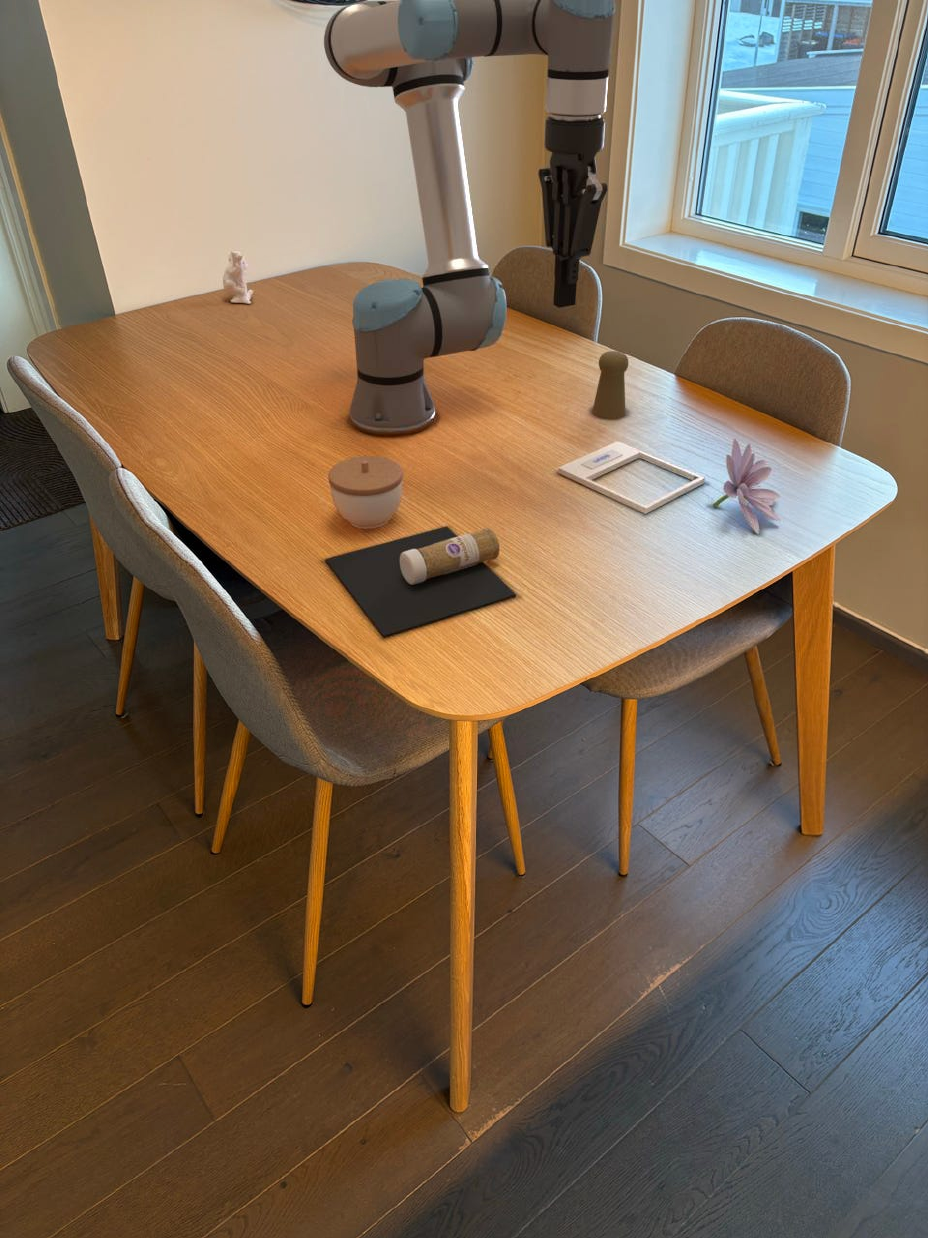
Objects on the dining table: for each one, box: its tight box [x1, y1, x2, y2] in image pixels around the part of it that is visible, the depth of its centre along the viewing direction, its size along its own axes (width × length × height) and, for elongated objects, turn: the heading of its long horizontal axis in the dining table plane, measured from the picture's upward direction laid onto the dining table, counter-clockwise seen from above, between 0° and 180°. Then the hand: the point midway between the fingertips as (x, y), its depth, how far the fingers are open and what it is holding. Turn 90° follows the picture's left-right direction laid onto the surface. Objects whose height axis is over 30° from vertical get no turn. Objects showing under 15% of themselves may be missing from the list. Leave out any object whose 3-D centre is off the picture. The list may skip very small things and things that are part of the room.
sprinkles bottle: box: [400, 527, 501, 585], centre depth 126 cm, size 5×5×13 cm
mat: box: [324, 525, 517, 639], centre depth 126 cm, size 20×19×1 cm
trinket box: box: [327, 455, 404, 530], centre depth 137 cm, size 11×11×9 cm
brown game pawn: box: [592, 350, 629, 420], centre depth 167 cm, size 6×6×11 cm
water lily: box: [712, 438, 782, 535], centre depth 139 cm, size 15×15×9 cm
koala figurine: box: [222, 250, 254, 305], centre depth 220 cm, size 8×7×12 cm
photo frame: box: [557, 440, 706, 515], centre depth 149 cm, size 15×1×18 cm
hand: (564, 304), depth 131 cm, fingers closed
